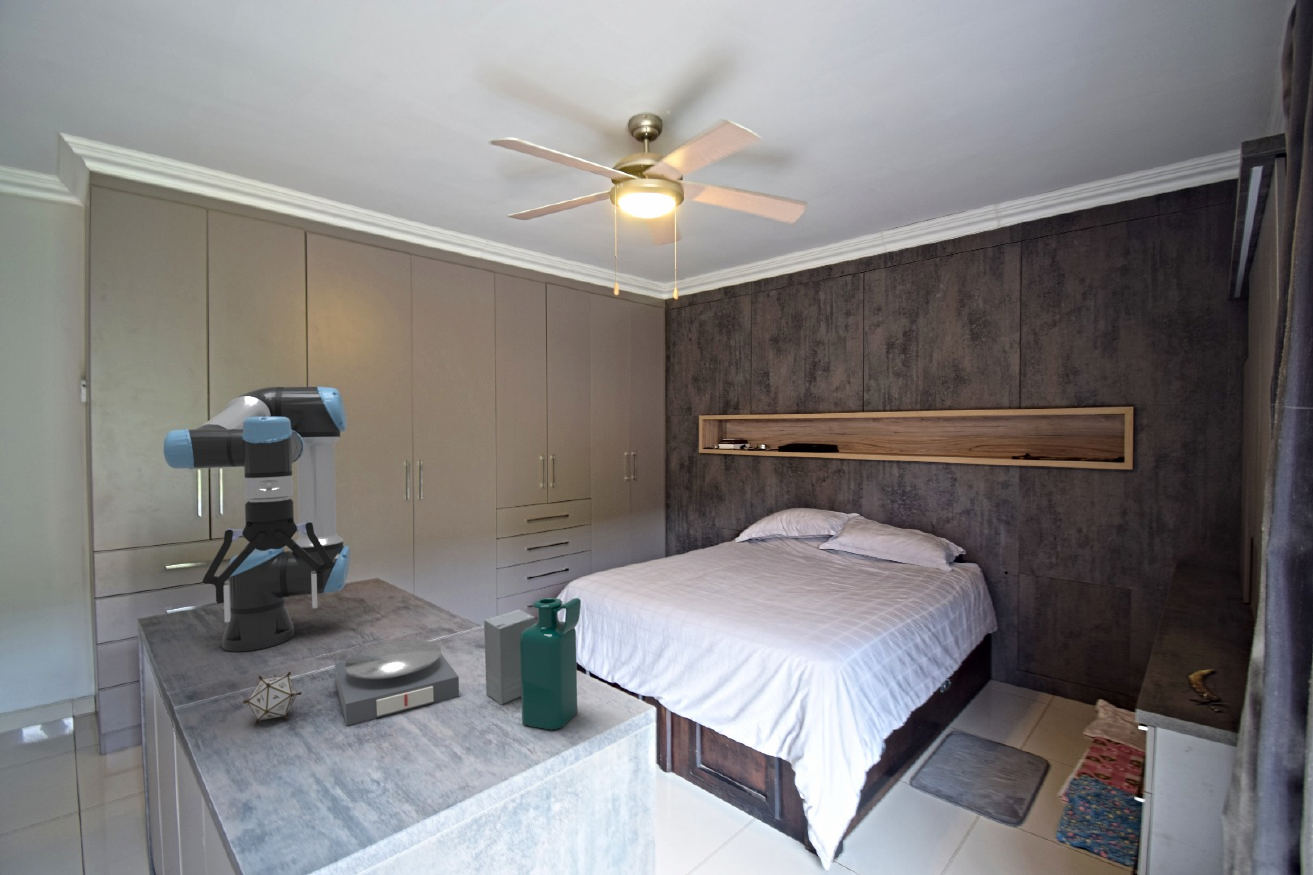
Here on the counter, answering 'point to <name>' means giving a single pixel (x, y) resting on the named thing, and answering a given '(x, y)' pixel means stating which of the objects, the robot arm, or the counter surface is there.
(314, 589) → the robot arm
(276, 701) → the game die
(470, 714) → the counter surface
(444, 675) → the scale
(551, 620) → the pitcher
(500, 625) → the skincare box
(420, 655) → the pan
